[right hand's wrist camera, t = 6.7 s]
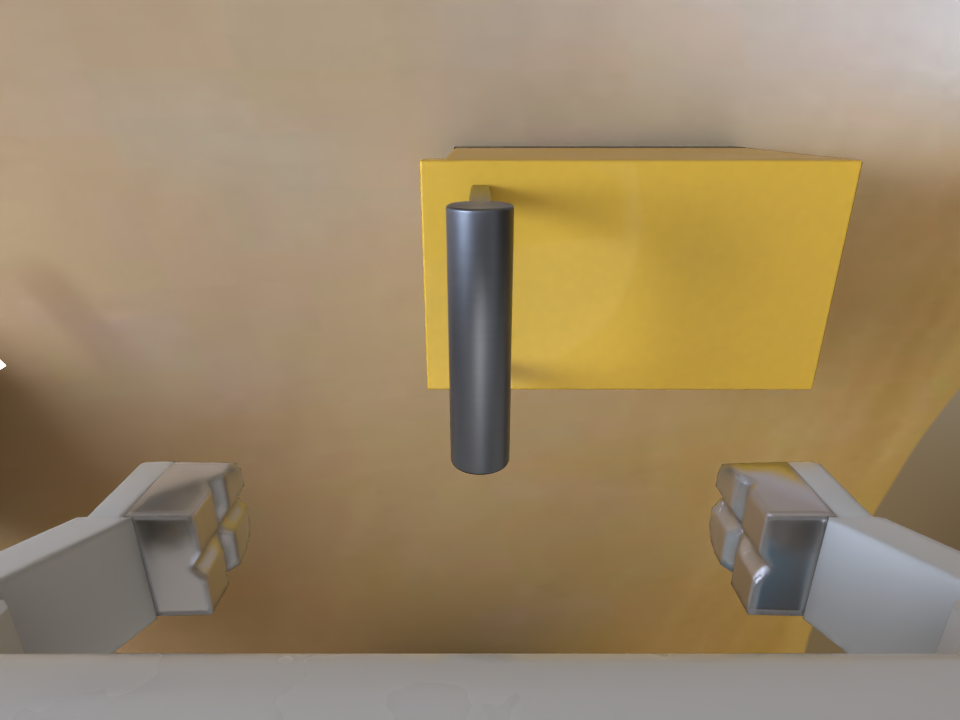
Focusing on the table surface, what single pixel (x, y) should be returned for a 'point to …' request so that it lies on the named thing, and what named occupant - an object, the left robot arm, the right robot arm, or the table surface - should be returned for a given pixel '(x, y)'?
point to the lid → (623, 278)
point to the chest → (623, 153)
